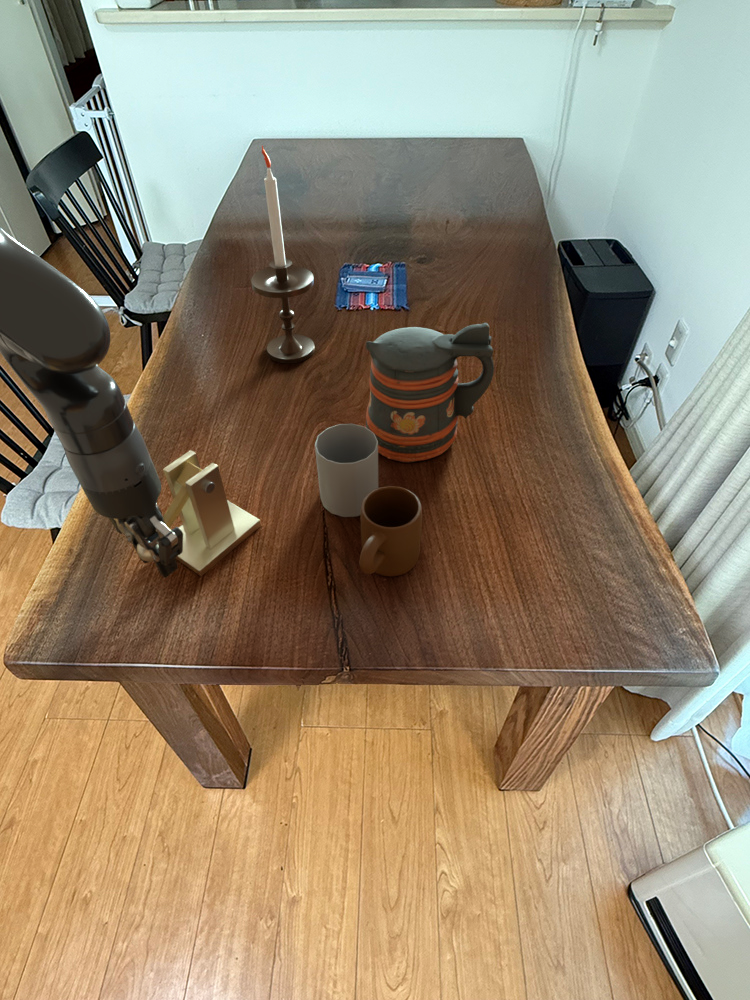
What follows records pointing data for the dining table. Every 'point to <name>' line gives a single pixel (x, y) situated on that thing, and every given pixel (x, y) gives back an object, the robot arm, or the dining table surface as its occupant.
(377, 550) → the mug
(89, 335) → the robot arm
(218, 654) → the dining table surface
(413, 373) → the beer stein
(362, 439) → the cup
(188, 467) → the switch lever
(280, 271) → the candlestick
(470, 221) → the dining table surface
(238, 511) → the switch bracket
